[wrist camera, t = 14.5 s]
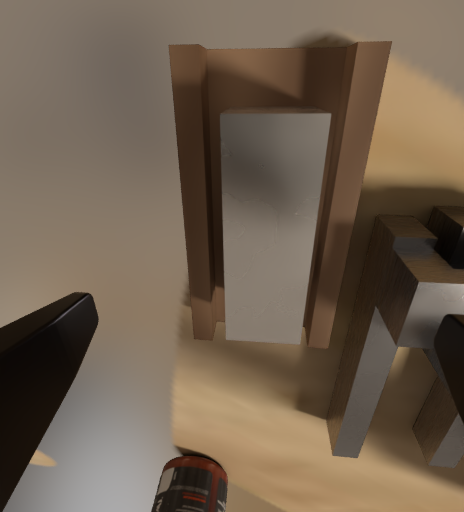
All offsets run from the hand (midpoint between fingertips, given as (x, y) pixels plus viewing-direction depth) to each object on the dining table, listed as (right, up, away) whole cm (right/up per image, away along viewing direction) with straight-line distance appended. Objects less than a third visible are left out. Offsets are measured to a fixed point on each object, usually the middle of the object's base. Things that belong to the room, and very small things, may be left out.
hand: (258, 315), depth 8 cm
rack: (+1, +4, +7) cm, 8 cm away
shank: (+1, +3, +6) cm, 7 cm away
